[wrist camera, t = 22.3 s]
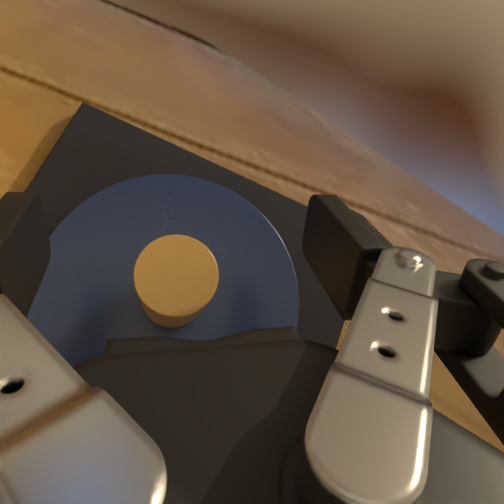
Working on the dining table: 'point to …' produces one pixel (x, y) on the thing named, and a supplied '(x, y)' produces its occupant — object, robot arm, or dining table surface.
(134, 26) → the dining table surface
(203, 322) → the lid
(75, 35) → the dining table surface
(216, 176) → the mat
